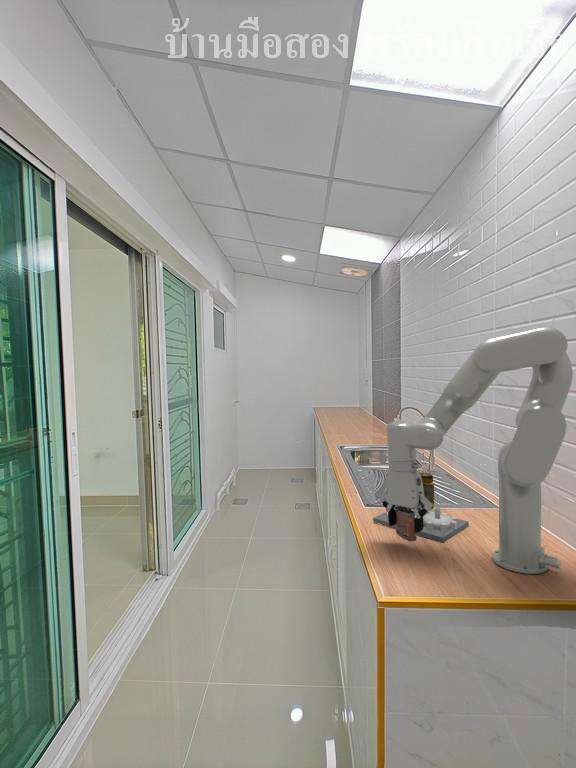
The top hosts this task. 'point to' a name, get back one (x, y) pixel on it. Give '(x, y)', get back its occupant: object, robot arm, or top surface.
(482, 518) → the top surface
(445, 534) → the gear board
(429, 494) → the condiment
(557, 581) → the top surface
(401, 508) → the lighter
